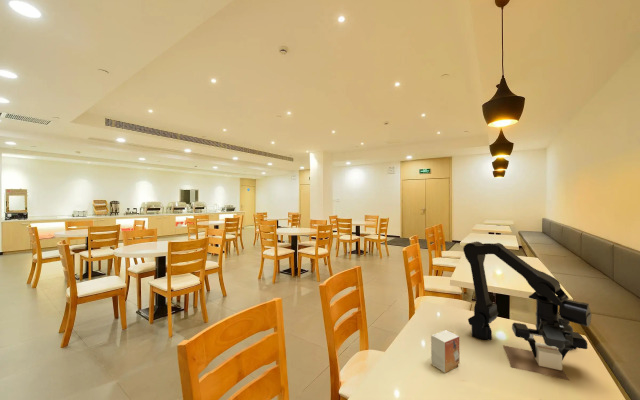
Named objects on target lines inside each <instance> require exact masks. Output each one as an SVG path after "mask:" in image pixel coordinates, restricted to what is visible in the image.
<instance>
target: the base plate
mask: <svg viewBox="0 0 640 400" xmlns="http://www.w3.org/2000/svg"><path fill="white" fill-rule="evenodd" d="M502 347H503V349H504V353H505V355H506V357H507V361H508V362H509V365H510V368H512V369H517V370H522V371H526V372H531V373H535V374H538V375H539V374H540V375H544V376H548V377H552V378H553V377H554V378H557V379H563V380H567V381H570V378H569V376H568V375H567V374H566V372H565V371H564V369H563V368H562V370H557V369H553V368H548V367H543V366H539V365H538V363H537V361H536V359H535V357H534V355H533V352H532V350H529V349H523V348H518V347H514V346H507V345H502Z"/></svg>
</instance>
